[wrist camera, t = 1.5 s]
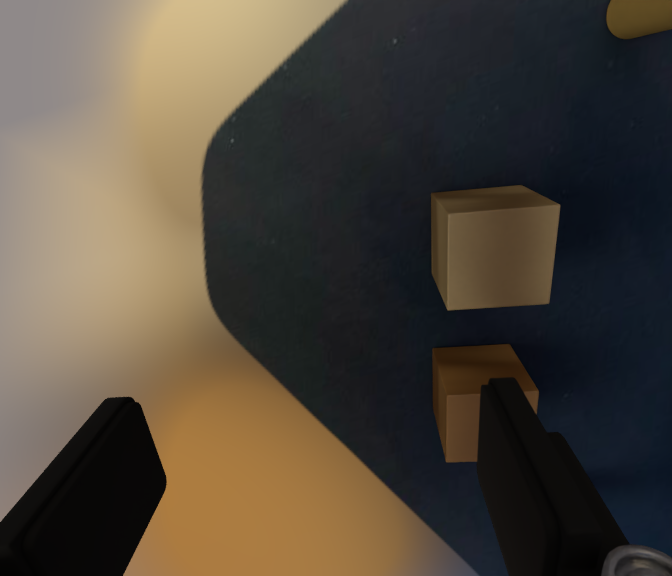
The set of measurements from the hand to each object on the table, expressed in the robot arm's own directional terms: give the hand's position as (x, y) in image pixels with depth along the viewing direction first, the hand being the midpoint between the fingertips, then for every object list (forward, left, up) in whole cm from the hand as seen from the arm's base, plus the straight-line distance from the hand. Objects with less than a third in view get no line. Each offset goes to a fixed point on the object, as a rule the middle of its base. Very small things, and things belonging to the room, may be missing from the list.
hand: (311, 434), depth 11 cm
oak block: (+12, -6, -16) cm, 21 cm away
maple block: (+7, +3, -16) cm, 18 cm away
